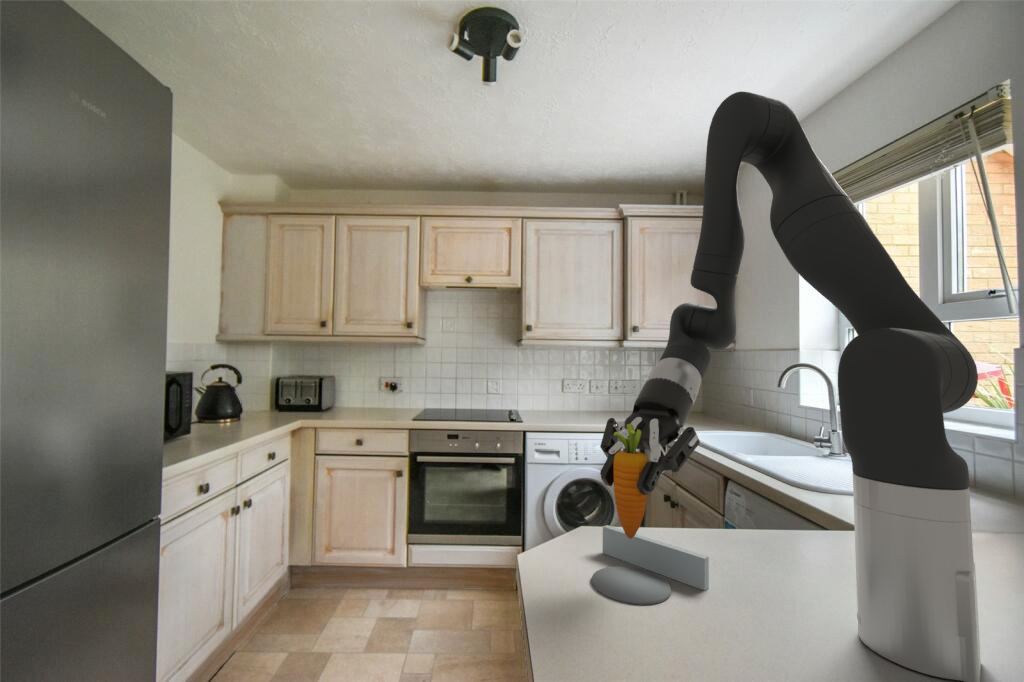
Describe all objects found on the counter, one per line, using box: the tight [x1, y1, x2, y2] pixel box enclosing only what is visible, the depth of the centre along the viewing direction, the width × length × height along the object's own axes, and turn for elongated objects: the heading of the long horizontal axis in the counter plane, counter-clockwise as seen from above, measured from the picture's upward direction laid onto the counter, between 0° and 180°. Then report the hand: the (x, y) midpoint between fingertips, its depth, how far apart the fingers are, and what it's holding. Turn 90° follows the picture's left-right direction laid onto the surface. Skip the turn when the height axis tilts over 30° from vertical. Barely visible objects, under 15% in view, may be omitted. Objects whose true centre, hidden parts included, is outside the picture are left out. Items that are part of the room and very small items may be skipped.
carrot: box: [613, 424, 650, 539], centre depth 60 cm, size 5×5×15 cm
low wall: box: [602, 524, 710, 591], centre depth 64 cm, size 16×1×4 cm, turn 43°
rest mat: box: [591, 566, 672, 606], centre depth 58 cm, size 10×10×1 cm
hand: (623, 485), depth 58 cm, fingers closed on carrot, 5 cm apart
